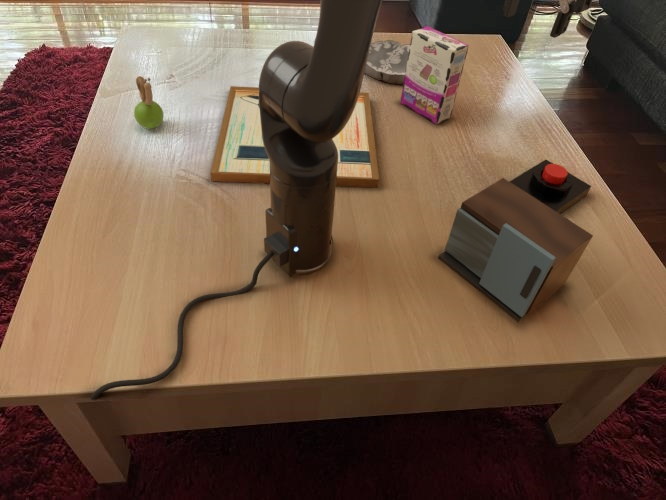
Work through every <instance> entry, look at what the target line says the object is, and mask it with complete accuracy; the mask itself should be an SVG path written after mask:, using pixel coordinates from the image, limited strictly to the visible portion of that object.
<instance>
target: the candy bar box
mask: <svg viewBox="0 0 666 500" xmlns="http://www.w3.org/2000/svg"><path fill="white" fill-rule="evenodd" d="M409 44H410V49H409V55H408V60H407V66H406V72H405V78H404V84H402V89H401V90H402V91H401V96H400V101H399V102H400V104H401V105H403V106H404V107H406V108H408V109H410V110H411V111H413V112H414V113H416V114H418V115H420V116H422V117H423V118H424V119H427V120H429V122H432V123H434V124H436V125H439V124H441V123H444V122H445V121H447V120H450V119H451V117H452V114H453V110H454V106H455V101H456V98H457V94H458V90H459V86H460V82H461V78H462V74H463V70H464V66H465V62H466V58H467V54H468V50H469V47H470V45H469V44H467V43H465V42H463V41H461V40H458V39H457V38H454V37H452V36H450V35H448V34H445V33H443V32H441V31H439V30H437V29H435V28H432V27H430V26H428V25H426V26H423V27H420V28H418V29H415V30H412V32H411V38H410V43H409Z"/></svg>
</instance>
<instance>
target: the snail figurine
mask: <svg viewBox="0 0 666 500" xmlns="http://www.w3.org/2000/svg"><path fill="white" fill-rule="evenodd" d="M150 81H151V78H150V77H147V78H144V76H140V75H139V76H137V77H136V78H135V83H136V86H137V89H138V91H139V98H140V100H141V101H140V102H138V103H137V105H135V108H134V110H133V114H134V115H133V116H134V119H135V122H137V124H138V125H139V126H141V127H143V128H144V129H149V130H150V129H156V128H158V127H159V126H160V125H161V124H162V123H163V120H164V111H163V108H162V107H161V105H160V104H159V103H158V102H156V101H154V100H153V98H154V97H153V91H152V85H151V82H150Z"/></svg>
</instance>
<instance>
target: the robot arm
mask: <svg viewBox="0 0 666 500" xmlns="http://www.w3.org/2000/svg"><path fill="white" fill-rule="evenodd" d="M319 1H320V2H319V6H320V7H319V8H320V9H319V16H318V17H319V18H318V24H317V31H316V35H315V39H314V43H313V45H311V44H309V43H308V42H304V41H301V40H290V41H287V42H284V43H281V44H280V45H278V46H277V47H276V48H275V49H273V50H272V51H271V52H270V54H269V55H268V56H267V57H266V59H265V61H264V62H263V63H264V64H263V65H262V68H261V71H260V75H259V79H258V88H259V109H260V119H261V130H262V139H263V144H264V148H265V150H266V153H267V155H268V157H269V164H270V183H269V186H270V187H269V189H270V193H269V194H270V207H269V208H266V209H265V212H264V213H265V234H266V236H265V237H264V238H263V246H264V247H263V249H264V250H263V251H264V252H265V253H266V255H265V256H264V257H263V258H262V259H261V261H259V263H258V264H257V266H256V267H255V269H254V271H253V274H252V277H251V281H250V282H249V283H248V284H247V285H246V286H244V287H242V288H240V289H237V290H233V291H228V292H227V291H226V292H215V293H209V294H204V295H201V296H198V297H196V298H194V299H193V300H191V301H190V302H189V303H188V304H187V305H186V306H185V307H184V308H183V309H182V311H181V313H180V314H179V317H178V320H177V331H176V332H177V345H176V346H177V347H176V353H175V356H174V359H173V360H172V363H171V364H170V365H169V366H168V367H167V368H166V369H165V370H164V371H163V372H161V373H158V374H157V375H155V376H152V377H147V378H138V379H123V380H116V381H111V382H107V383H105V384H103V385H101V386H100V387H98V388H97V389H96V390H95V391H93V393H92V394H91V396H90V398H89V399H90V400H92V401H94V400H97V399H98V398H99V397H100V395H102V394H104V393H105V392H107V391H109V390H112V389H115V388H122V387H135V386H146V385H150V384H155V383H157V382H159V381H161V380H164V379H165V378H167V377H168V376H169V375H171V374H172V373H173V371H174V370H176V368H177V367H178V365H179V364H180V362H181V358H182V356H183V353H184V324H185V319H186V316H187V314H188V313H189V311H190V310H191V309H193V307H194V306H196V305H197V304H199V303H202V302H204V301H209V300H214V299H221V298H225V297H232V296H239V295H243V294H245V293H248V292H249V291H250V290H252V289H253V288H254V287H255V286H256V284H257V282H258V278H259V274H260V272H261V270H262V269H263V267H264V266H266V264H267V263H268V262H269V261H270V260H272V261H273V262H274V263H275V264H276V265H277V267H279V268H280V269H281V270H282V271H283V272H284V273H285V274H286V275H287V276H288V277H293V276H294V275H309V274H313V273H316V272H319V271H320V270H322V269H323V268H324V267H326V266H327V264H328V263H329V262H330V260H331V256H332V247H334V239H333V225H334V214H335V201H336V191H337V186H336V180H337V168H338V151H337V148H336V145H335V143H334V141H333V140H332V139H333V138H334V137H335V136H337V135H338V134H339V133H340V132H341V131H342V129H343V128H344V127H345V125H346V124H347V122H348V121H349V119H350V117H351V115H352V113H353V111H354V108H355V106H356V103H357V100H358V96H359V93H360V92H361V88H362V84H363V80H364V77H365V73H364V72H365V67H366V63H367V59H368V54H369V50H370V45H371V43H372V40H373V37H374V34H375V33H374V32H375V29H376V24H377V21H378V18H379V14H380V11H381V7H382V5H383V1H384V0H319ZM558 3H559V8H560V11H558V12H557V14H556V17H555V20H554V22H553V25H552V28H551V31H550V34H549V37H551V38H553V39H556V38H558V37H560V36H561V35H562V34H565V32H567V31H568V27H569V24H570V22H571V19H572V17H573V15H574V14H580V13H582V12H585V11H588V10H589V9H590V8H591V5H592V3H593V0H558ZM519 4H520V0H505V1H504V4H503V7H502V11H503V12H504V13H503V16H504V17H506V18H510V17H514V16H515V15H516V12H517V10H518V6H519Z"/></svg>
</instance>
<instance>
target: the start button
mask: <svg viewBox="0 0 666 500" xmlns="http://www.w3.org/2000/svg"><path fill="white" fill-rule="evenodd" d="M568 172H569V171H568V170H567V169H566V168H565V167H564V166H563V165H560V164H557V163H553V164H548V165H547V166H546V167H545V169H544V171H543V173H542V178H543V179H544V180H546V181H547V182H549V183H552V184H555V185H559V184H562V183H564V181H565V179H566V177H567V175H568Z"/></svg>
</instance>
